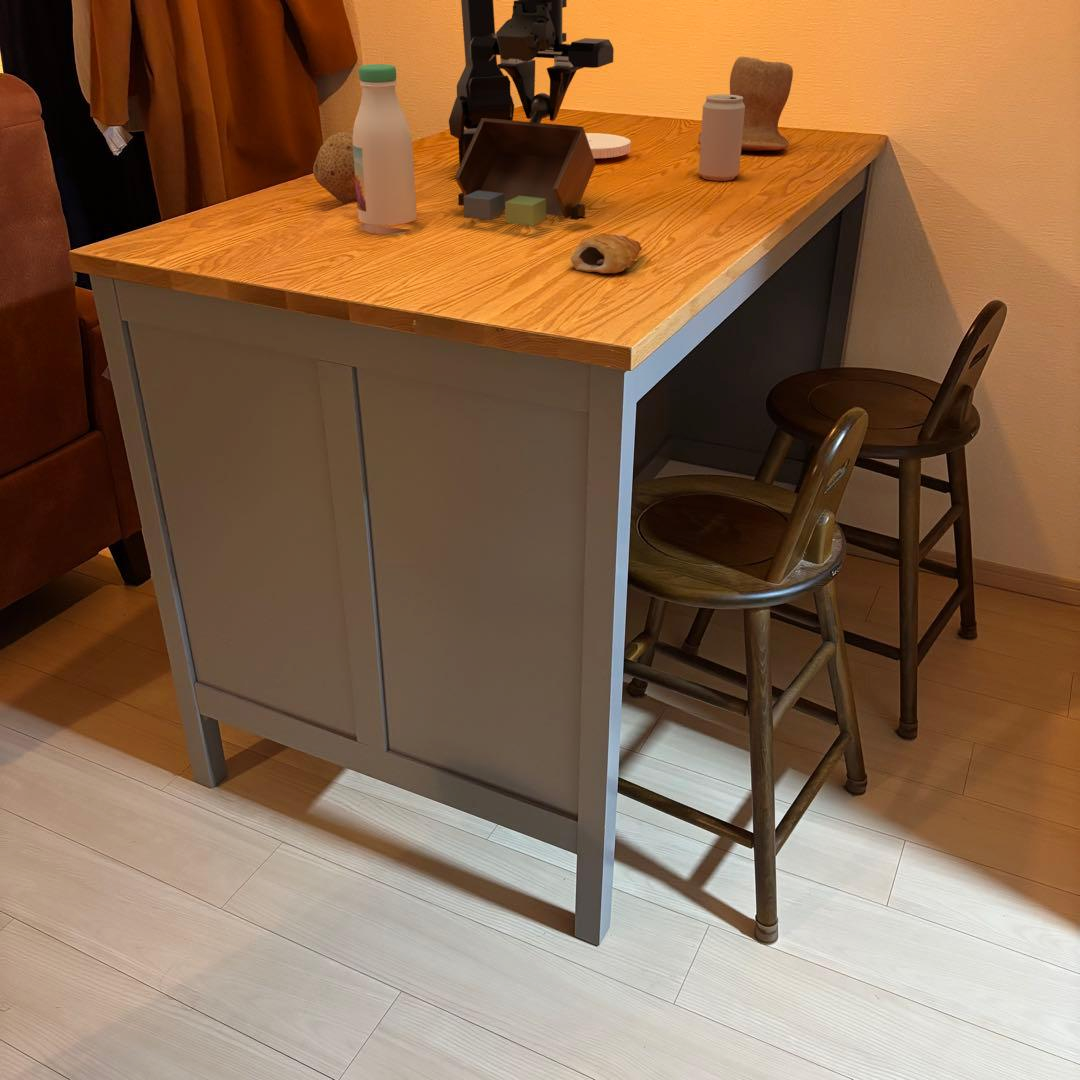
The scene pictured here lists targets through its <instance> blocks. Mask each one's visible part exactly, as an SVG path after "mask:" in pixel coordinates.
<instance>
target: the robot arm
mask: <svg viewBox="0 0 1080 1080" xmlns="http://www.w3.org/2000/svg"><path fill="white" fill-rule="evenodd" d="M460 3H461V16H462V18H461V19H462V33H463V43H464V44H463V46H464V61H465V67H464V69H463V71H462V73H461V75H460V77H459V79H458V82H457V84H456V98H455V100H454V103H453V106H452V109H451V112H450V115H449V118H448V127H449V134H450V136H452V137H453V138H455V139H458V141H457V142H458V166H459V167H460V165H461V163H462V160H463V158H464V156H465V154H466V152H467V149H468V147H469V145H470V143H471V141H472V138H473V136H474V134H475V132H476V130H477V127H478V125H479V123H480V121H481V119H482V118H489V119H500V120H512V121H514V112H515V103H514V100H513V97H512V95H511V94H512V93H511V80H512V82H513V84H514V86H515V88H516V91H517V94H518V97H519V100H520V103H521V105H522V109H523V111H524V114H525V117H526V119H527V120H530V119H531V117H532V115H533V113H532V111H531V108H530V104H531V100H532V98H533V97H534V96H535V95H536V94H535V92H536V91H535V90H536V89H535V87H536V84H535V83H536V59H535V58H541V59H542V58H543V59H553V62H554V65H552V66H549V67H547V68H546V71H547V75H548V77H549V96H550V97H549V121H551V122H553V121H556V119H557V117H558V114H559V112H560V109H561V106H562V104H563V101H564V98H565V97H566V94H567V91H568V89H569V88H570V87H569V86H570V84H571V83H572V81H573V78H574V77H575V74H576V73H577V71H579V70H581V69H584V68H586V69H588V68H590V69H595V68H596V69H597V68H601V67H603V66H606V65H609V64H612V63H614V45H613V44H612V42H611V40H610V39H606V38H588V37H585V38H581V39H577V40H575V41H571V42H570V43H565V42H567V32H563V8H567V7H568V6H567V0H513V5H512V14H511V18H509V19H507V20H506V21H505V22H504V23H503V24H502V25H501V27H500V28H498V30H497V31H496V25H495V12H494V11H495V9H494V7H495V6H494V0H460ZM497 56H499V57H500V58H499V60H500V61H499V63H498V57H497ZM502 70H504V71H505V72H506V73H507V74H508V75H509V76H510V78H511V80H510V78H509V76H508V75H505V74H504V73H503V71H502ZM459 167H458V168H459Z"/></svg>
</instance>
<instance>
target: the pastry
mask: <svg viewBox="0 0 1080 1080" xmlns="http://www.w3.org/2000/svg"><path fill="white" fill-rule="evenodd" d="M640 252H642V245H641V243H640V242H639V241H637V240H635V239H632V238H629V237H628V236H625V235H618V234H609V233H608V234H607V233H598V234H592V235H591V236H589V237H584V238H582V240H580V242H579V244H578V245H577V246H576V248H575V249H574V251H573V253H572V255H571V256H570V262H571V264H572V265H573V266H574V269H575V270H577V271H580V272H581V271H582V272H587V273H588V272H589V273H590V272H595V273H599V274H617V273H620V272H623V271H624V270H625V269H627V268H628V270H629V269H631V268H632V267H634V266H635V265H636V264H637V263H638V262H639V260H634V259H636V257H637V256H638V255H639V254H640Z"/></svg>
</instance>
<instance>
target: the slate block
mask: <svg viewBox="0 0 1080 1080" xmlns="http://www.w3.org/2000/svg"><path fill="white" fill-rule="evenodd" d="M504 214H505V209H504V193H497V192H488V191H480V190H478V191H475V192H473V193H471V194H468V195H466V196H464V206H463V217H464V218H471V219H478V220H487V221H491V220H493V219H496V218H498V217H500V216H502V215H504Z"/></svg>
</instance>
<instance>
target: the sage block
mask: <svg viewBox="0 0 1080 1080" xmlns="http://www.w3.org/2000/svg"><path fill="white" fill-rule="evenodd" d="M504 214H505V223H507V224H515V225H522V226H529V227H534V226H536V225H538V224H539V223H542V222H543V221H545V220H546V219H547V214H546V199H544V198H535V197H527V196H517V197H515V198H513V199H511V200H509V201H507V202H505V209H504Z"/></svg>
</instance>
